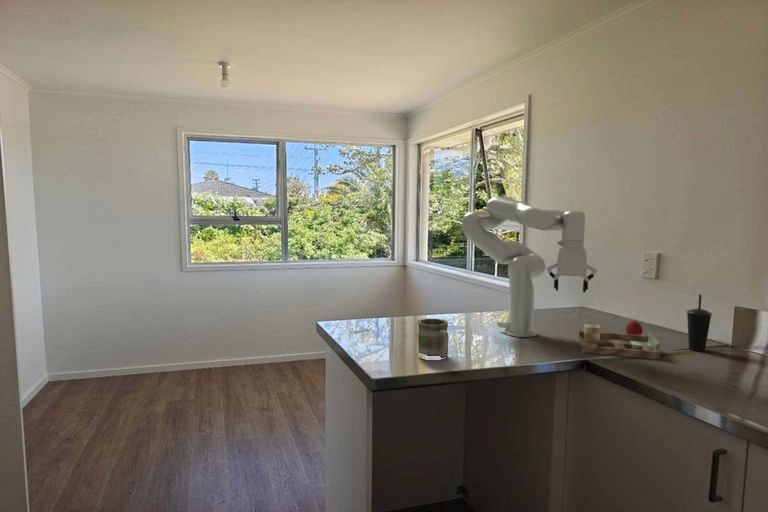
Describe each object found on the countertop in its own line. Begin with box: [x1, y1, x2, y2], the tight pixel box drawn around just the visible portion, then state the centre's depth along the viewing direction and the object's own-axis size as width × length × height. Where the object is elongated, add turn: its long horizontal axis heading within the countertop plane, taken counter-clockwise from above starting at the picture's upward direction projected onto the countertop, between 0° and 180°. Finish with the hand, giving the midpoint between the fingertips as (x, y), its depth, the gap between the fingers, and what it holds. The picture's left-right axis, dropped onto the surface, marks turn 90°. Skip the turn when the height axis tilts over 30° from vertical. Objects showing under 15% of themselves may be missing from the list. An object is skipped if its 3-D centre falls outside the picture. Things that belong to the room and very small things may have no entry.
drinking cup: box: [686, 294, 713, 353], centre depth 167 cm, size 8×8×20 cm
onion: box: [625, 318, 644, 335], centre depth 182 cm, size 6×6×8 cm
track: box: [578, 330, 661, 360], centre depth 167 cm, size 24×14×6 cm, turn 71°
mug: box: [417, 318, 450, 358], centre depth 159 cm, size 16×11×12 cm
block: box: [583, 323, 601, 342], centre depth 173 cm, size 5×5×5 cm
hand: (570, 290), depth 174 cm, fingers open, 9 cm apart
